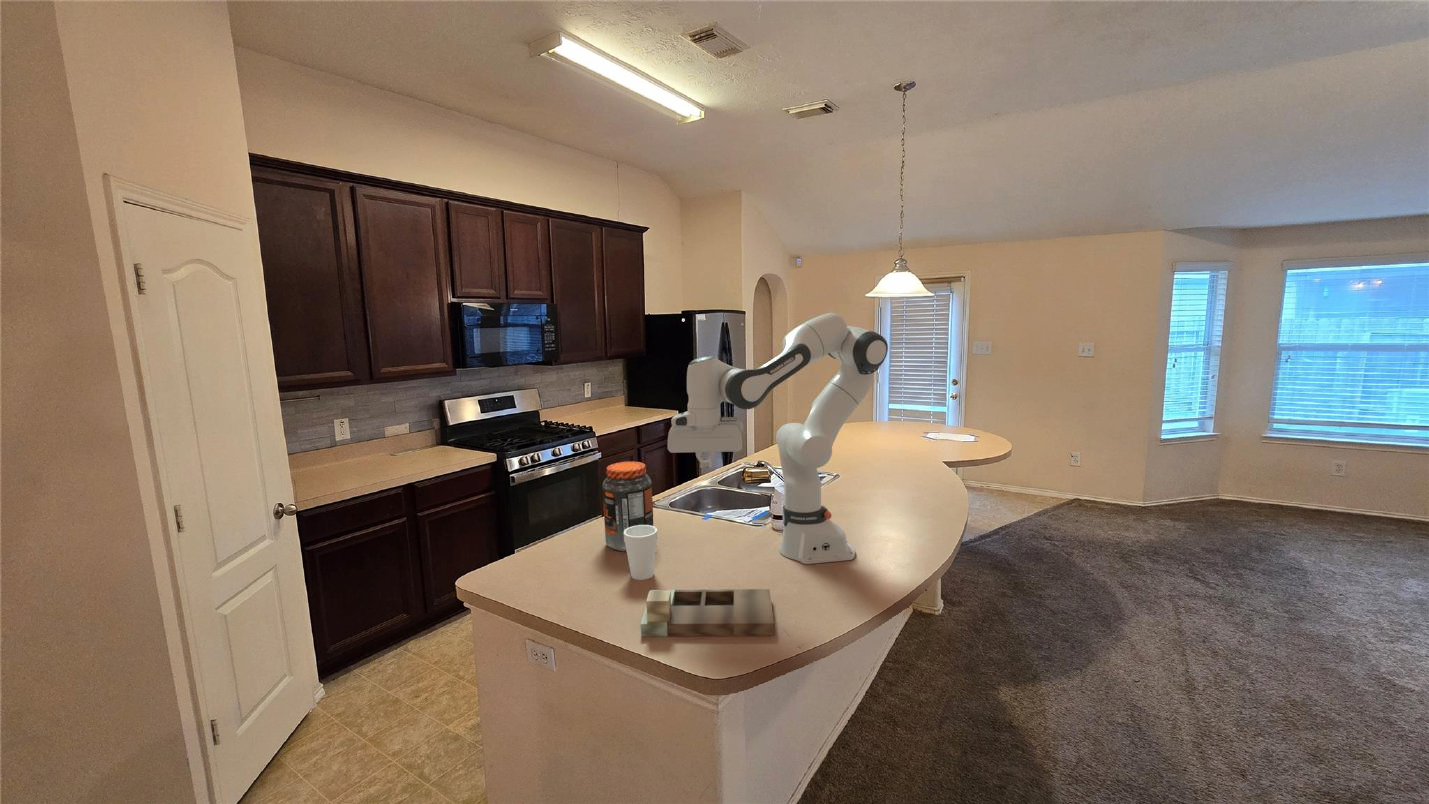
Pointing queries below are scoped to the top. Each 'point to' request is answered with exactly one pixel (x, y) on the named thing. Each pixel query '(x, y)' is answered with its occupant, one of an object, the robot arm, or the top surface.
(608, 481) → the supplement tub
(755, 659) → the top surface
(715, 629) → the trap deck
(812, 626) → the top surface
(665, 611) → the maple block
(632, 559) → the foam cup
